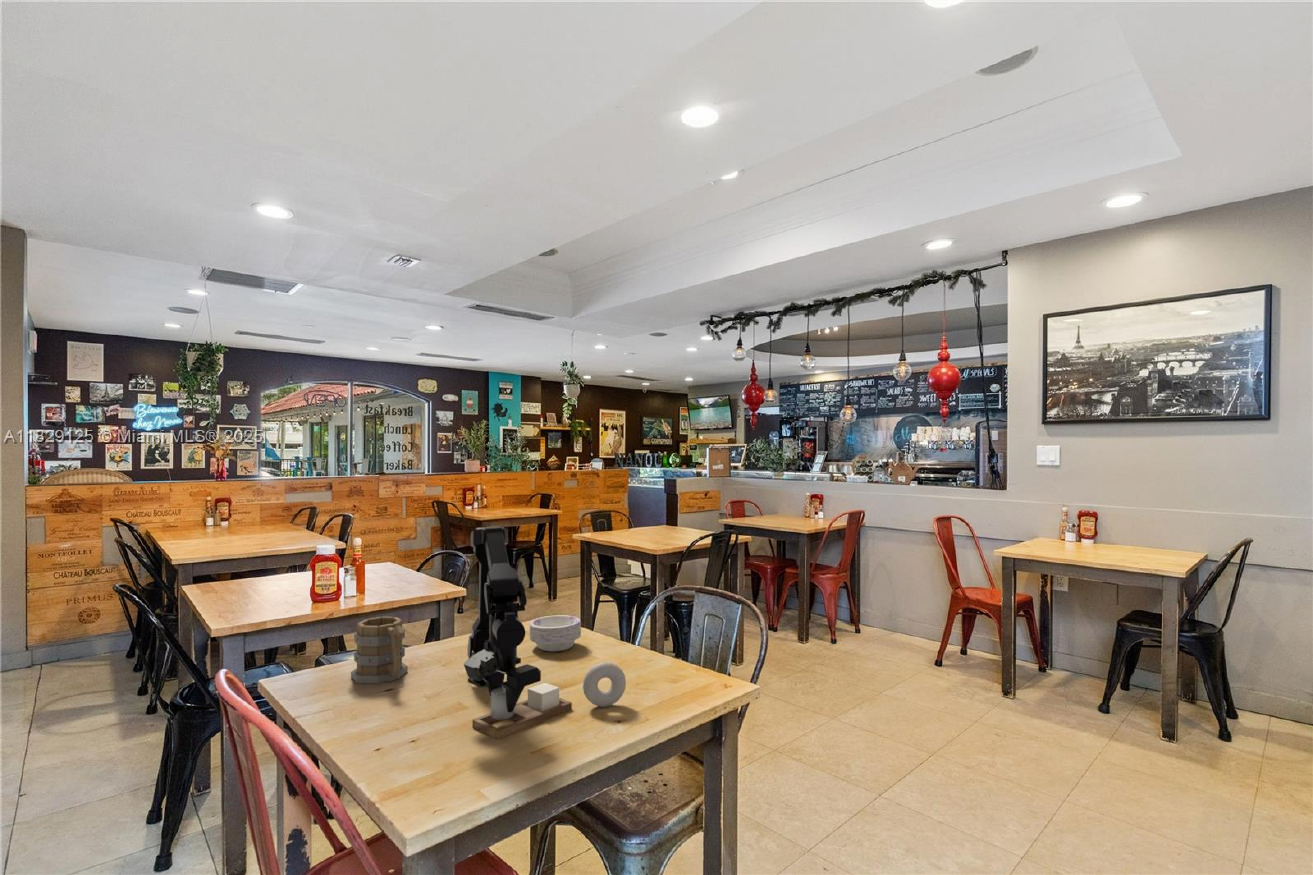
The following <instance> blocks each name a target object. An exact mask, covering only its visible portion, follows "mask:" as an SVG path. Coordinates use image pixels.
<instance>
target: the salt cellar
mask: <svg viewBox="0 0 1313 875" xmlns="http://www.w3.org/2000/svg"><path fill="white" fill-rule="evenodd" d="M490 713H491V717H492V718H494V719H498V720H507V719H511V718H510V717H512V716H513V715H514V710H513V711H512V712H510V713H509V712H508V711H507V702H506V689H505V688H504V687H503V686H502V687H500V688H496V689H493V690H492V691H491V697H490Z"/></svg>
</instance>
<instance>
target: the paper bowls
mask: <svg viewBox="0 0 1313 875" xmlns="http://www.w3.org/2000/svg"><path fill="white" fill-rule="evenodd" d="M528 631H529V640H530V641H531V642H532V643H535V644H536V647H537V648H538V649H539V650H541V651H545V652H562V651H567V650H569V649H571V648H572V647H573V646H574V643H575V641H576V640H577V639H580V638H581V637H582V636H581V635H582V620H581V618H579V617H577V616H575V615H574V616H573V615H567V614H563V615H562V614H560V615H559V614H558V615H547V616H541V617H538V618H535V619H533V620H531V621H530V622H529V630H528Z"/></svg>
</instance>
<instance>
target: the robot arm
mask: <svg viewBox="0 0 1313 875" xmlns="http://www.w3.org/2000/svg"><path fill="white" fill-rule="evenodd" d="M508 532H509V531H508V528H505V527H504V526H496V525H495V526H483V527H475V529H474V530H472V531H471V532H470V546H471V548H473V549H472V551H473V553H474V555H475V557H476V559H477V560H478V566H479V568H478V569H479V570H478V573H479V574H478V613H477V614H478V616H477V618H476V620H475V621H474V623H473V624H472V625H471V635H469V636H468V640H467V641H468V642H467V657H468V658H467V659H466V660H464V662H463V667H464V668H465V671H466V672H465V673H466V676H467V681H468V682H470V683H472V684H473V683H474V684H476V685H478V686H480V687H483V686H486V688H487V691H488V693H489V697H490V698H491V691H492V690H493V689H496V688H500V687H504V688H505V689H506V702H507V711H508V712H509V713H510V712H512V711H513V710H514V708H515V705H516V704H517V703H518V700H519V699H520V696H521V694H522V693H523V690H524V689H525V687H527V686H530V685H533V684H536V683H539V682H541V680H542V679H541V678H542V671H541V670H540V669H539V668H538V667H537V666H534V665H531V664H528V663H527V664H523V665H520V666H517V665H519V664H522V658H521V657H518V655H517V654H518V653H517V652H518V650H517V649H518V646H520V645H521V644H522V643H523V641H524V640H525V637H526V629H525V625H524V624H523V623H522V622H521V620H520V619H519V615H518V614H519V613H518V612H523V611H526V605H527V604H528V603H527V602H528V600H527V596H526V595H527V594H526V590H525V585H524V584H523V581H522V580H520V578H519V575H518V572H517V570H516V568H513V567H511V565H510V562H509V561H510V560H509V557H508V552H507V546H506V545H508V544H509V537H508V536H509V535H508V534H509V533H508ZM516 666H517V667H516ZM505 675H506V681H504V680H505Z"/></svg>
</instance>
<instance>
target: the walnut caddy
mask: <svg viewBox="0 0 1313 875" xmlns="http://www.w3.org/2000/svg"><path fill="white" fill-rule="evenodd" d="M572 706H573V704H572V701H569V700H566V699H564V698H562V697H559V705H558V706H556V707H553V708H551V709H548V710H545V711H543V712H540V711H537V710H535V709H532V708H530V707H528V699H526V700H525V699H524V700H523V701H520V702H517V703H516V705H515V708H514V715H513V716H512V717H510V718H509V719H511V720H514V721H515V722H512V723H509V724H507V725H505V726H503V727H500V728H499V727H496V726H494V725H492V724H491V723H492V722H495V721H497V720H499V719H494V718H492V717H491V712H490V713H486V714H483V715H481V716H479V717H476V718H473V719H472V728H475V729H477V730H478V731H481V732H482V733H485V734H487V735H489V736H491V737H493V738H494V739H497V740H498V739H502V738H504V737H506V736H508V735H509V736H510V735H512V734H514V733H516V732H519V731H521V730H524V729H526V728H529V727H531V726H534V725H537V724H538V723H542V722H543V721H546V720H549V719H551V718H553V717H556V716H558V715H561V714H563V713H566V712H568V711H571V710H572V709H573V707H572Z"/></svg>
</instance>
